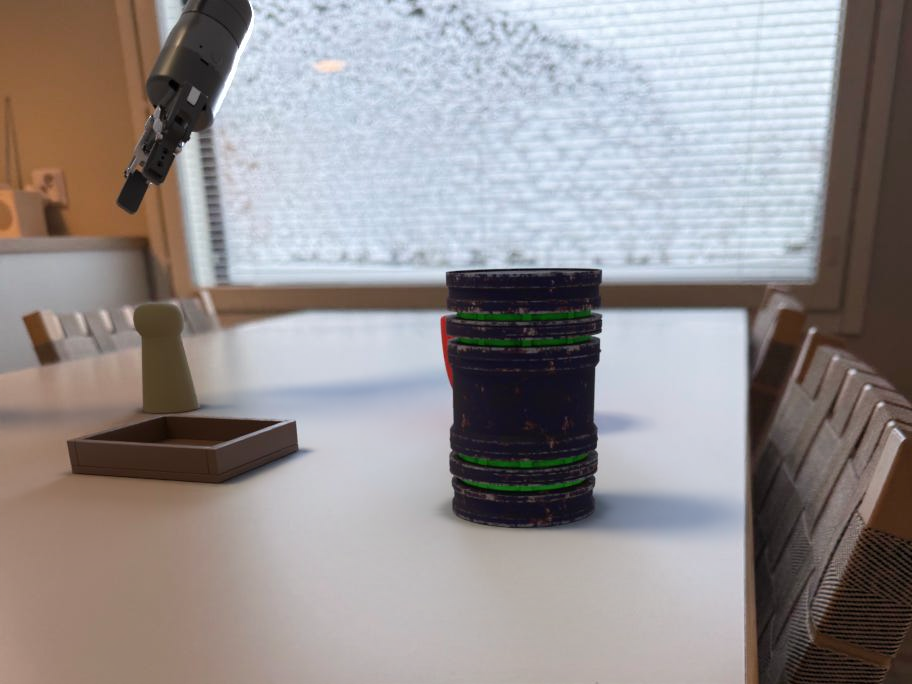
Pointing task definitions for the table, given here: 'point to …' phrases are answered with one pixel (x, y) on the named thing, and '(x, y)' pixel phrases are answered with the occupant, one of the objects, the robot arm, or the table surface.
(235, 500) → the table surface
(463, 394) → the storage jar
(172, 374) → the olive green pepper mill
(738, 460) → the table surface
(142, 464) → the serving tray
